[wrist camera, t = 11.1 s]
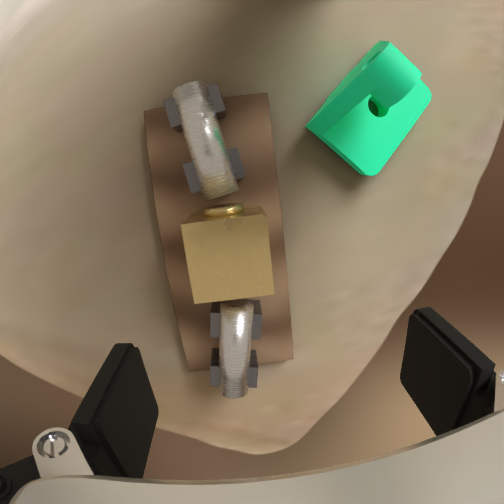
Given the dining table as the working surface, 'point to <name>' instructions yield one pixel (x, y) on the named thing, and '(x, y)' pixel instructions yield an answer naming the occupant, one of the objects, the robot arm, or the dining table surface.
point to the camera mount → (359, 116)
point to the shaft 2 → (235, 345)
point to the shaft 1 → (204, 139)
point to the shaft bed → (250, 193)
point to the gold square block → (228, 253)
